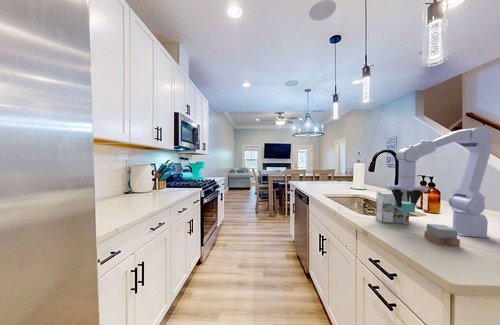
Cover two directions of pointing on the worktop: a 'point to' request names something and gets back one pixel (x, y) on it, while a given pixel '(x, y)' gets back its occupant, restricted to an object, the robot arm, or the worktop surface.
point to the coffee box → (399, 215)
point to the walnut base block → (442, 240)
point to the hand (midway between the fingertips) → (405, 207)
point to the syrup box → (385, 207)
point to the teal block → (407, 207)
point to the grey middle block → (442, 231)
